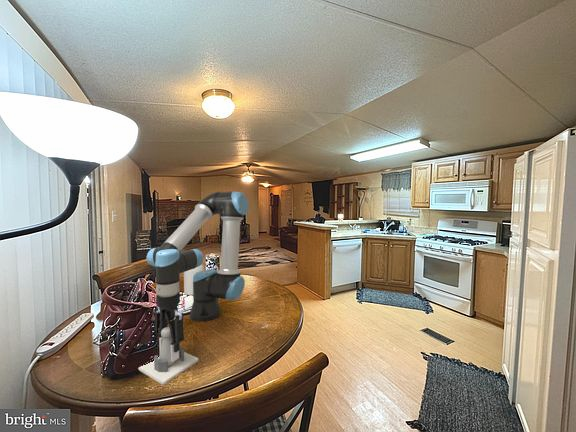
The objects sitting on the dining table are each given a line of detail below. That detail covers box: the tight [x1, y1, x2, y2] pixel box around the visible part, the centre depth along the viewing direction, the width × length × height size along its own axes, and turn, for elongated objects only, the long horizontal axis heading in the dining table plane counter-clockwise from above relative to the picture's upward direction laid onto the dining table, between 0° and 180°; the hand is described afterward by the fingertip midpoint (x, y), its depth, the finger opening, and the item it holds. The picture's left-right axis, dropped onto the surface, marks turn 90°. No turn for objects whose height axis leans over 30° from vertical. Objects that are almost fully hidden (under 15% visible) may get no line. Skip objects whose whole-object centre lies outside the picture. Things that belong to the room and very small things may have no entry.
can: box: [183, 264, 205, 296], centre depth 158 cm, size 12×12×20 cm
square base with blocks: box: [137, 346, 199, 386], centre depth 86 cm, size 14×14×4 cm
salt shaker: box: [159, 326, 175, 367], centre depth 86 cm, size 6×6×13 cm
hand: (169, 356), depth 86 cm, fingers closed on salt shaker, 6 cm apart
